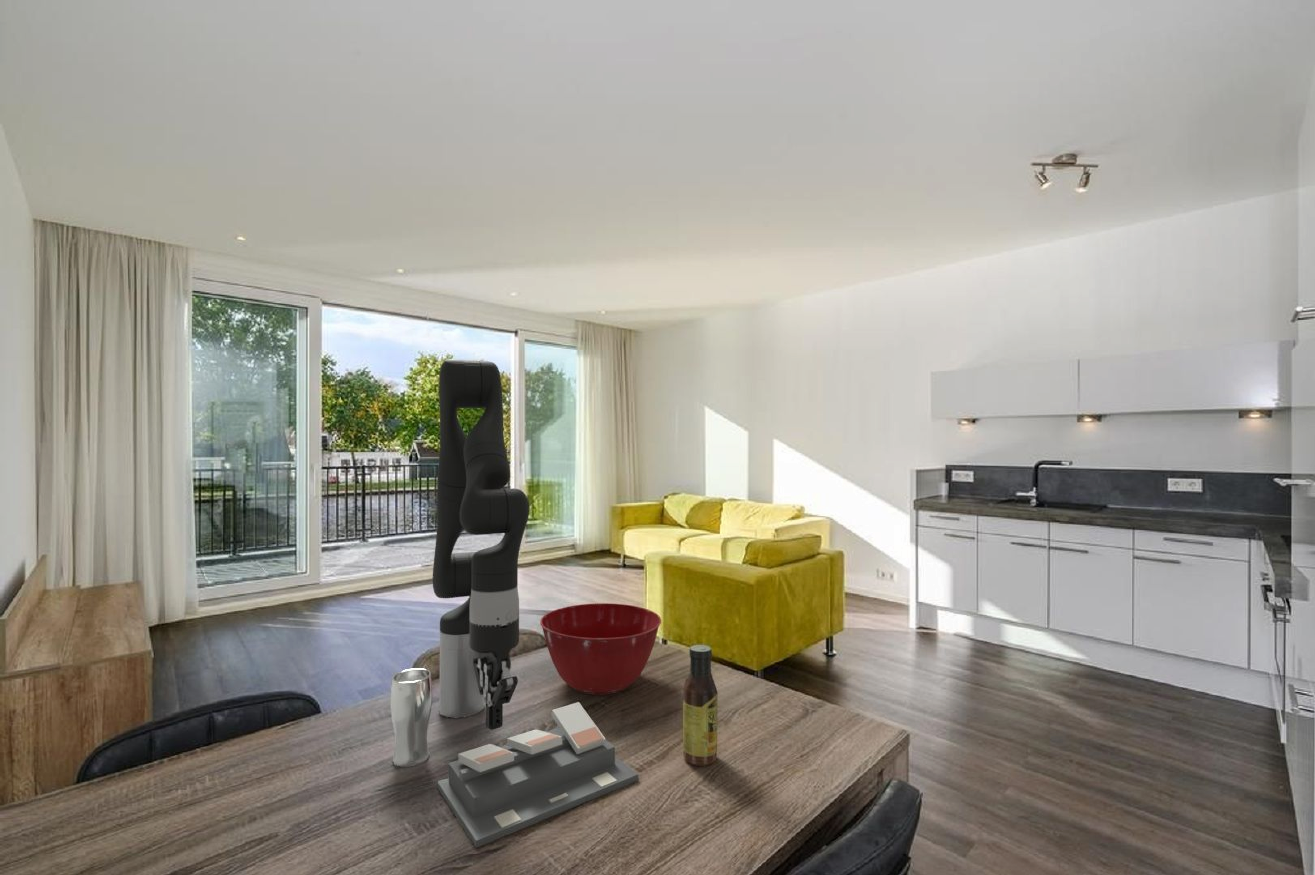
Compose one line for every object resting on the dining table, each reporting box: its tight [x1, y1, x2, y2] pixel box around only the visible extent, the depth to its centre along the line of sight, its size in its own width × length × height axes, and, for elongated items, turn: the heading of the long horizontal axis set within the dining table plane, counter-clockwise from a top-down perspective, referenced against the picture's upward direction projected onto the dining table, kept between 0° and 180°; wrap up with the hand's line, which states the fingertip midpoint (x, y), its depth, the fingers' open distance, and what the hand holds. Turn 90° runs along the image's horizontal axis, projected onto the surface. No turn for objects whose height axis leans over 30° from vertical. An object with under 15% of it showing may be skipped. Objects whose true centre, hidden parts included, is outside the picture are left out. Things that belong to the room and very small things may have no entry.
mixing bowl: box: [539, 602, 662, 696], centre depth 141 cm, size 28×28×16 cm
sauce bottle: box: [682, 644, 719, 767], centre depth 108 cm, size 7×6×20 cm
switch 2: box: [506, 729, 562, 755], centre depth 101 cm, size 10×6×1 cm, turn 37°
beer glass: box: [390, 667, 433, 768], centre depth 107 cm, size 7×7×15 cm
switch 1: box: [457, 743, 514, 772], centre depth 96 cm, size 10×6×1 cm, turn 37°
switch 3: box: [551, 701, 606, 754], centre depth 106 cm, size 10×6×1 cm, turn 37°
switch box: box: [436, 726, 639, 848], centre depth 99 cm, size 18×28×5 cm, turn 127°
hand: (494, 727), depth 93 cm, fingers closed
